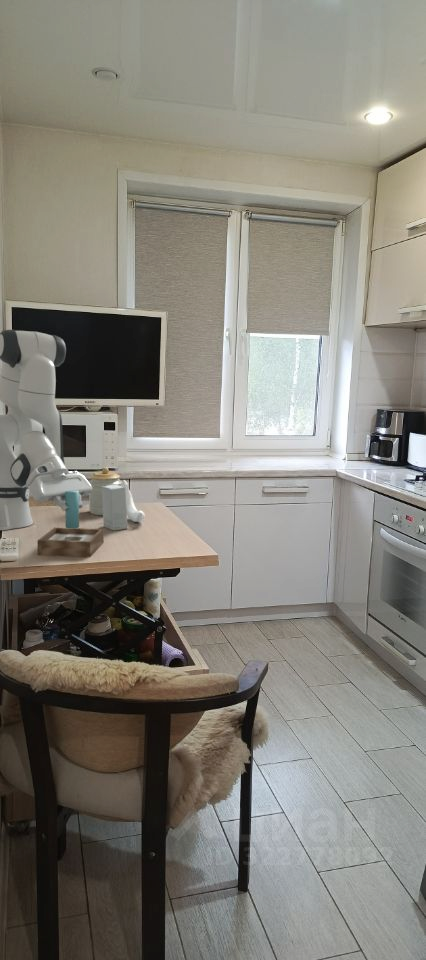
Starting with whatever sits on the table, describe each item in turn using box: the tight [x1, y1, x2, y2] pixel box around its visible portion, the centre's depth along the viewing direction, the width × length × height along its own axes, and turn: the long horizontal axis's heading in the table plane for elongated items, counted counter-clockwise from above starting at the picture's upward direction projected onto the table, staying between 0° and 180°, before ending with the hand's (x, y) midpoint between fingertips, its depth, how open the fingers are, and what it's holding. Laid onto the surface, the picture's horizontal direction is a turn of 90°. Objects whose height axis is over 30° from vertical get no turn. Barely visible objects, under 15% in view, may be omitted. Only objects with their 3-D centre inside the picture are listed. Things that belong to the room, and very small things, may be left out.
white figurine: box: [122, 479, 146, 523], centre depth 235 cm, size 5×19×15 cm, turn 29°
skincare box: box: [102, 485, 128, 531], centre depth 226 cm, size 8×6×15 cm
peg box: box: [37, 527, 105, 558], centre depth 199 cm, size 16×16×4 cm
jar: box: [88, 466, 123, 516], centre depth 250 cm, size 13×13×18 cm
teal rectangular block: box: [64, 491, 80, 528], centre depth 197 cm, size 4×4×11 cm
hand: (73, 508), depth 196 cm, fingers closed on teal rectangular block, 4 cm apart
